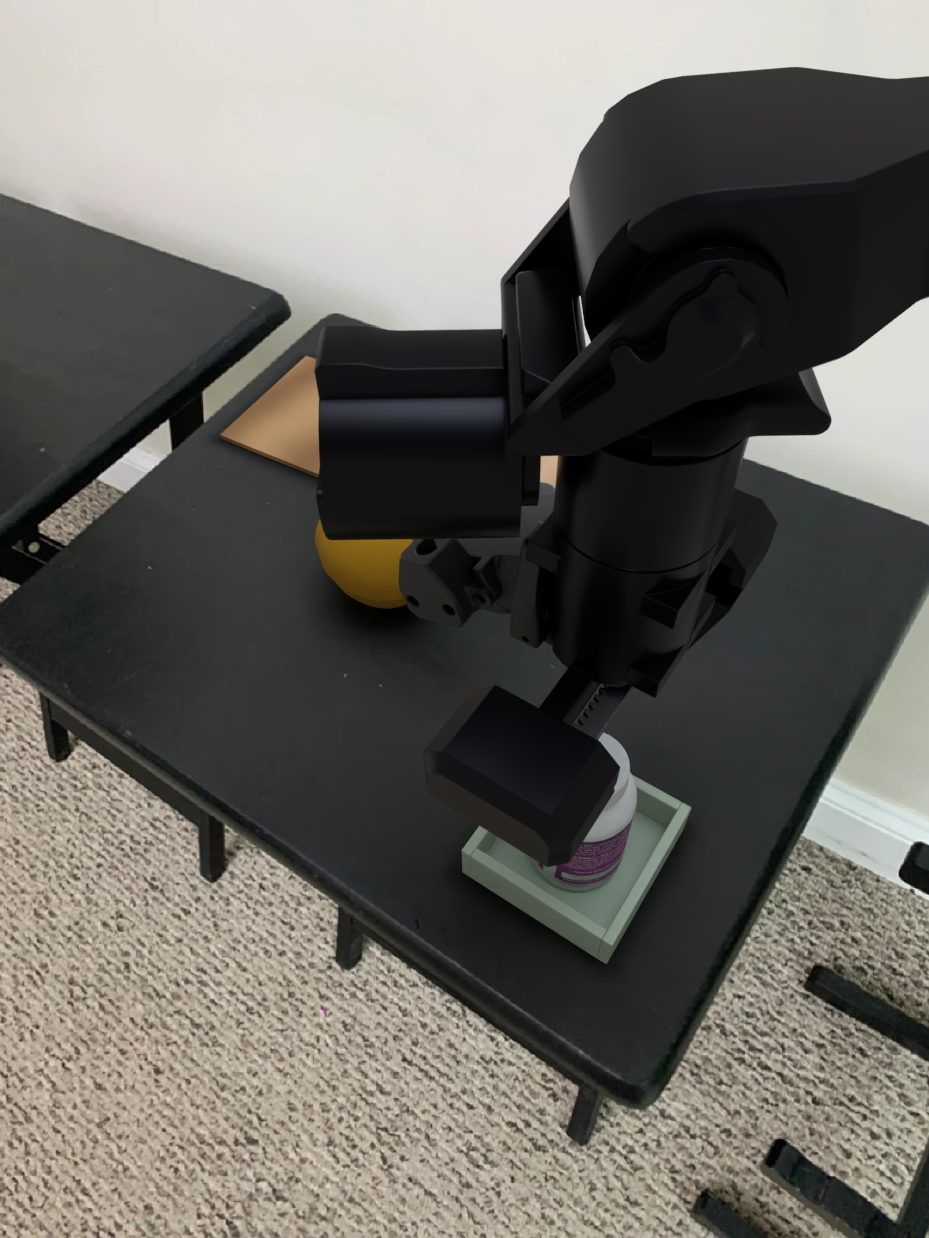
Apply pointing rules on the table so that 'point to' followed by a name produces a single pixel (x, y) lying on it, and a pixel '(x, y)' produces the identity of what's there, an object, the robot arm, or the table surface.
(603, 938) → the tray
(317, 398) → the wooden board
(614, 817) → the pill bottle
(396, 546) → the apple
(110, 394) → the table surface
